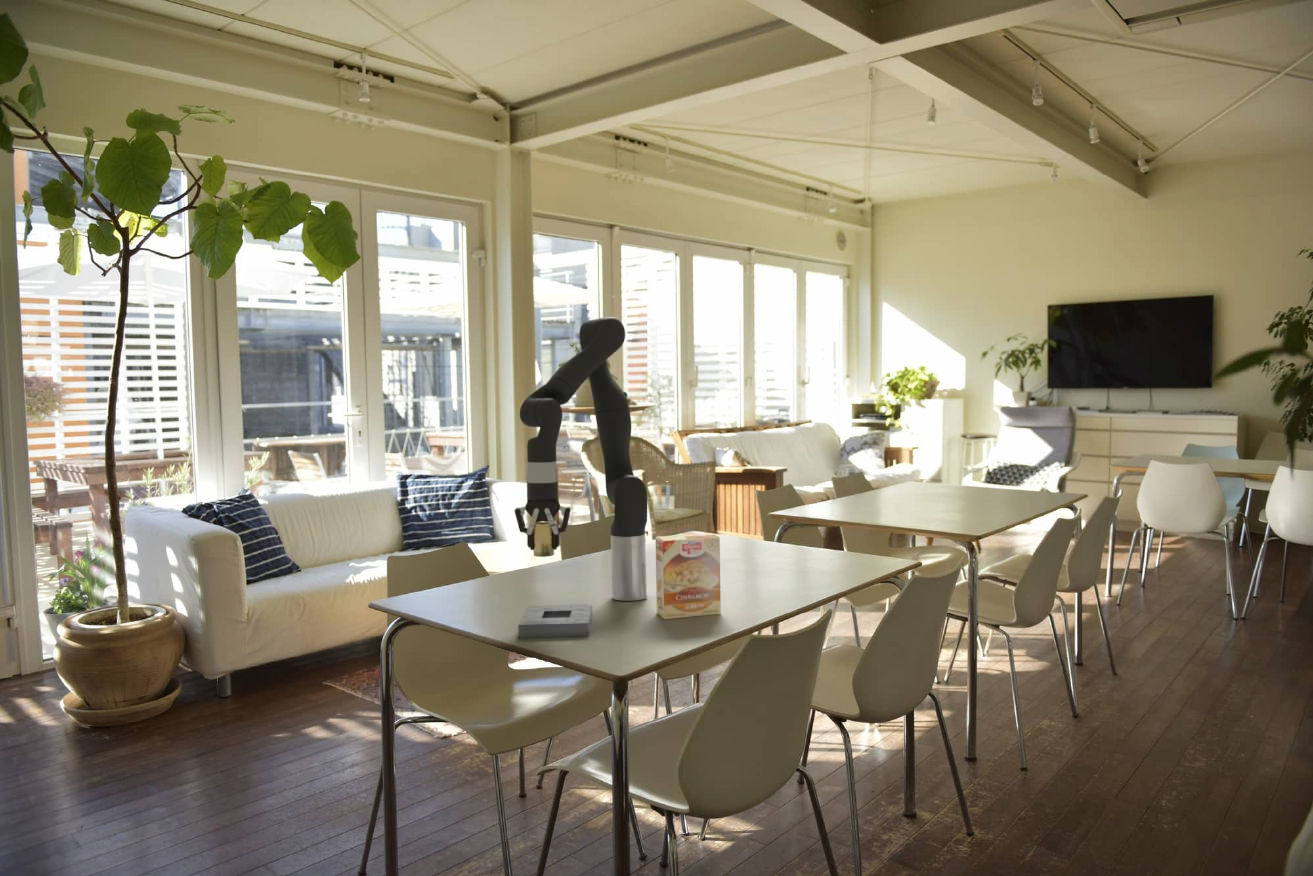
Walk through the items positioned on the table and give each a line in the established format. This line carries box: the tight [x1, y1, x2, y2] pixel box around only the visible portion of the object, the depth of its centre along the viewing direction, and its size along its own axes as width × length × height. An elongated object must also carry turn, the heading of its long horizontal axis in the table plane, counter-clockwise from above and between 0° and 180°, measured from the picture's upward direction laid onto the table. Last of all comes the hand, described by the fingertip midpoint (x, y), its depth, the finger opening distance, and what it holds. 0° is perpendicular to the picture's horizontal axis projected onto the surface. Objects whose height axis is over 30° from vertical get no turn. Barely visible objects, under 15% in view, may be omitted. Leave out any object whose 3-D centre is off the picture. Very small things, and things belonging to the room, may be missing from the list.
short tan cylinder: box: [532, 521, 555, 558], centre depth 226 cm, size 5×5×8 cm
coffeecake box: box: [655, 532, 722, 620], centre depth 230 cm, size 15×7×20 cm, turn 106°
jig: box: [517, 603, 594, 639], centre depth 220 cm, size 16×18×3 cm
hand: (543, 548), depth 226 cm, fingers closed on short tan cylinder, 5 cm apart
